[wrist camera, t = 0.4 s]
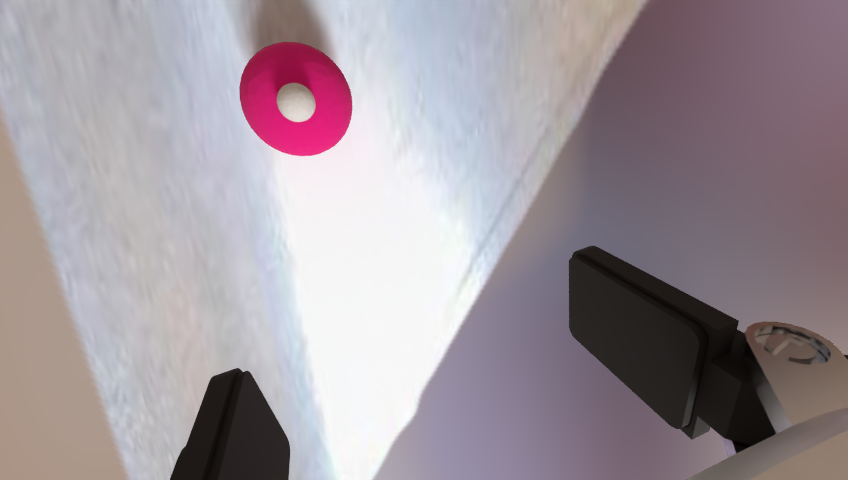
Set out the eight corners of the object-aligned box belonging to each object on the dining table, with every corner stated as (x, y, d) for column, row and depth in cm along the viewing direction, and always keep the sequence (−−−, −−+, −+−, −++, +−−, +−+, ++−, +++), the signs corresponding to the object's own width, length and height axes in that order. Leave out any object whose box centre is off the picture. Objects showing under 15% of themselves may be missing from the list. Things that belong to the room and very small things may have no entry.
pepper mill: (249, 74, 31) (167, 42, 14) (323, 48, 32) (335, -12, 15) (287, 149, 35) (260, 202, 17) (353, 124, 36) (394, 149, 18)
